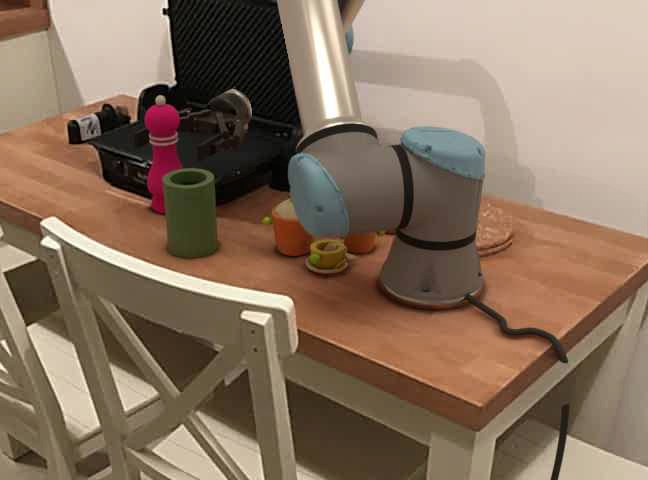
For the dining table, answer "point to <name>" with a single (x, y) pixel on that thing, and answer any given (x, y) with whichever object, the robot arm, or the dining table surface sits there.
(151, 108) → the pepper mill
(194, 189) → the green cylindrical container
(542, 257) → the dining table surface
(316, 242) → the toy tea set
